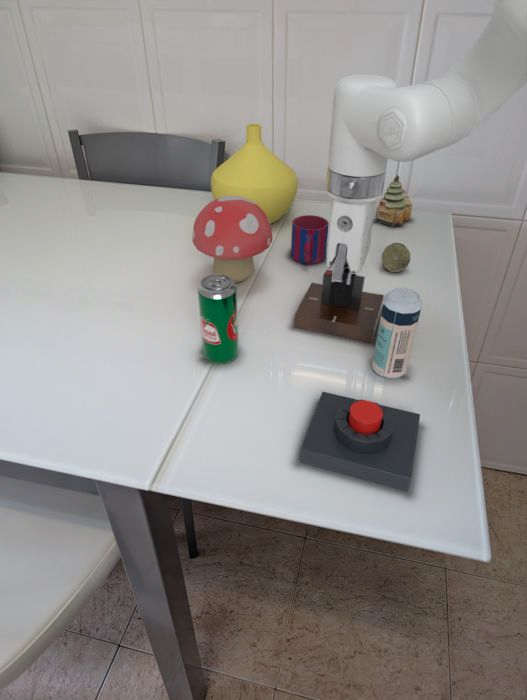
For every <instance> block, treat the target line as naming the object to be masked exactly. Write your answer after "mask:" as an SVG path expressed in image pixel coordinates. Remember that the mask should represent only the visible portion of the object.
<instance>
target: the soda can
mask: <svg viewBox="0 0 527 700" xmlns="http://www.w3.org/2000/svg"><path fill="white" fill-rule="evenodd" d="M197 298H198V308H199V318H200V331H201V342H202V352H203V353H202V354H203V356H204V357H205V359H207V360H208V361H209V362H211V363H213V364H216V365H217V364H218V365H222V364H223V365H224V364H228V363H230V362H232V361H233V360H235V358H237V356H238V355H239V353H240V351H239V350H240V346H239V344H240V343H239V320H238V319H239V318H238V317H239V315H238V314H239V313H238V290H237V286H236V284H235V283H234V282H233V280H232V278H230V277H229V276H226V275H221V274H215V273H214V274H210V275H207V276H205V277H203V278H202V279H201V280H200V281H199V286H198V287H197Z"/></svg>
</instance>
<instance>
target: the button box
mask: <svg viewBox="0 0 527 700" xmlns="http://www.w3.org/2000/svg"><path fill="white" fill-rule="evenodd" d="M362 400H363V399H357V398H353V397H350V396H349V397H348V396H344V395H339V394H336V393H331V392H327V391H322V392H321V394H320V397H319V399H318V402H317V404H316V408H315V410H314V413H313V416H312V418H311V421H310V424H309V426H308V429H307V432H306V435H305V437H304V439H303V442H302V445H301V448H300V456H299V462H300V463H302V464H306V465H308V466H314V467H316V468H321V469H324V470H328V471H332V472H334V473H335V472H336V473H339V474H343V475H345V476H350V477H354V478H357V479H361V480H364V481H368V482H371V483H375V484H379V485H381V486H386V487H390V488H393V489H398V490H401V491H404V492H409V488H410V485H411V483H412V482H411V481H412V477H413V470H414V463H415V456H416V455H415V454H416V449H417V440H418V434H419V433H418V432H419V426H420V418H421V413H418V412H417V413H416V412H413V411H408V410H405V409H399V408H397V407H396V408H395V407H391V406H388V405H383V404H379V403H378V402H374V401H373V402H374V403H375V404H377V405H378V406H379V407H380V408H381V409H382V412H383V416H382V421H381V426H380V428H379V430H378V431H377V432H375V433H372V434H363V433H359V432H356V431H355V430H353V429H352V428H351V427H350V425H349V422H348V419H349V413H350V408H351V406H352V405H353V404H354V403H355V402H357V401H362Z"/></svg>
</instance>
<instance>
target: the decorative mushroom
mask: <svg viewBox="0 0 527 700" xmlns="http://www.w3.org/2000/svg"><path fill="white" fill-rule="evenodd" d="M271 225H272V224H270V222H269V219H268V217H267V216H266V214H265V213H264V211H263V210H262V209H261V208H260V207H259V206H258V205H257V204H255V203H254V202H252V201H250V200H248V199H246V198H243V197H239V196H225V197H221V198H218V199H216V200H215V199H214V200H211V201H210V202H208V204H206V205H205V206H204V207H203V208H202V210H200V212H199V213H198V215H197V216H196V218H195V220H194V223H193V228H192V245H194V247H195V249H196V250H197V251H199V252H200V253H202V254H203V255H205V256H208V257H212V258H213V273H214V275H215V274H221V275H226V276H229V277H230V278H232V280H233V282H234V284H238V283H240V282H244V281H245V280H247V279H248V278H249V277H250V276H251V275H252V274H253V273H254V271H255V265H254V257H255V256H257V255H260V254H262V253H263V252H265V251H266V250H267V249H269V248H270V247H271V244H272V242H273V240H274V239H273V238H274V237H273V230H272V226H271Z"/></svg>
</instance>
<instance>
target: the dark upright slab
mask: <svg viewBox="0 0 527 700" xmlns="http://www.w3.org/2000/svg"><path fill="white" fill-rule="evenodd" d="M332 271H333V269H326V270H325V271H324V273H323V274H322V284H323V285H322V296H321V303H323V304H329V305H334V304H330V303H329V296H330V286H331V280H332ZM365 279H366V277H365V276H363V275H362V276H361V275H357V274H356V275H352V279H351V283H353V287H352V294H351V302H350V305H349V307H345V306H340V305H334V306H339V307H345V308H350V309H356V310H359V308H360V305H361V300H362V293H363V292H364V286H365V285H364V284H365Z"/></svg>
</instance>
